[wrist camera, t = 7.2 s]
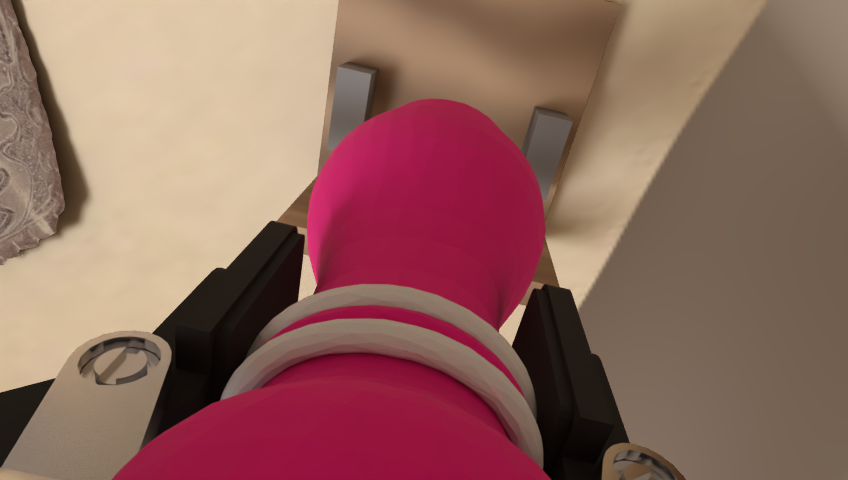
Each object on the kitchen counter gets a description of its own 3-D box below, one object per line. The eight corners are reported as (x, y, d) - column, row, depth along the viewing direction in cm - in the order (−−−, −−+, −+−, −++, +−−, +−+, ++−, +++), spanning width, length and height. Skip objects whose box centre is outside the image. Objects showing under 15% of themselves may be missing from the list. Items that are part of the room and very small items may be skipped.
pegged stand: (352, -58, 30) (302, -82, 21) (614, 4, 30) (669, 5, 21) (320, 190, 37) (273, 247, 28) (533, 239, 37) (550, 311, 28)
